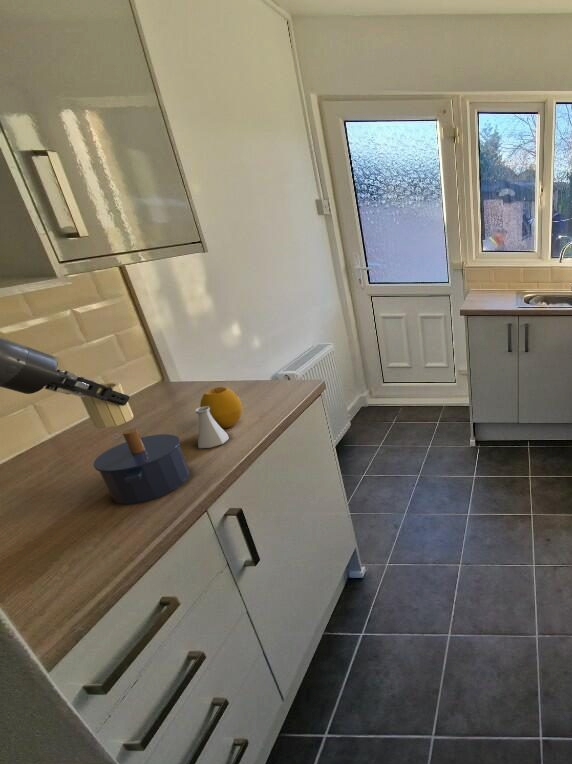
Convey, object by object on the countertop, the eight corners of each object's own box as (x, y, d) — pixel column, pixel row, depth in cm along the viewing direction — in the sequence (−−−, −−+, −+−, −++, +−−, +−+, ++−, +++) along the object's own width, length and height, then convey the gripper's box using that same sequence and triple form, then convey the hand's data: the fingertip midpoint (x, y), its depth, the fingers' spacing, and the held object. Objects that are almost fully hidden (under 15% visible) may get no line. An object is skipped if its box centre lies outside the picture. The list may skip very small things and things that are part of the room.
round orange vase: (215, 419, 123) (202, 383, 118) (251, 415, 125) (240, 379, 121) (201, 435, 114) (188, 397, 110) (241, 430, 117) (229, 393, 112)
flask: (194, 451, 107) (181, 417, 103) (201, 438, 113) (189, 405, 109) (226, 445, 109) (215, 412, 106) (232, 432, 116) (221, 400, 112)
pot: (102, 520, 84) (85, 485, 80) (123, 473, 99) (109, 442, 95) (185, 497, 90) (172, 464, 87) (193, 456, 105) (181, 426, 102)
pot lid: (86, 483, 82) (72, 457, 80) (105, 449, 93) (93, 426, 91) (177, 460, 89) (167, 436, 86) (184, 432, 100) (175, 409, 98)
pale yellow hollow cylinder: (90, 431, 81) (74, 396, 78) (99, 419, 86) (84, 385, 83) (130, 423, 84) (115, 389, 81) (136, 411, 89) (122, 379, 86)
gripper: (45, 348, 69) (149, 386, 84) (-4, 340, 73) (103, 378, 88) (17, 389, 66) (129, 421, 81) (-32, 379, 71) (83, 411, 86)
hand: (115, 398), depth 85 cm, fingers closed on pale yellow hollow cylinder, 6 cm apart
